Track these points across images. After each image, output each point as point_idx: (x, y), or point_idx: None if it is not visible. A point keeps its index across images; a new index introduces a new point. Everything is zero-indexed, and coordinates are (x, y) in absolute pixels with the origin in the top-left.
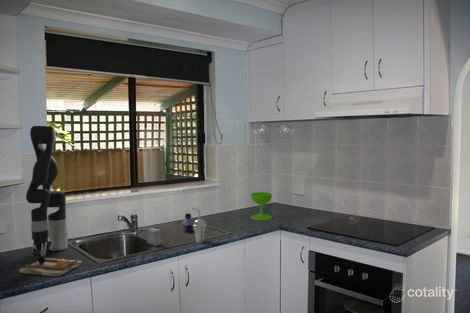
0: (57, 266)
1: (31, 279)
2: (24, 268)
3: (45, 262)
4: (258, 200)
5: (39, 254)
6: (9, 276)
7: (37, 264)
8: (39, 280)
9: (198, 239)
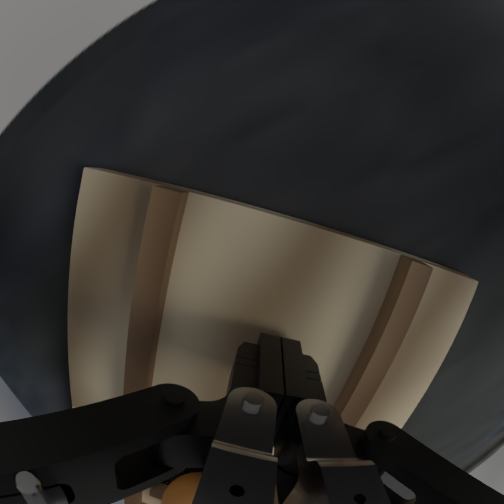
0: (165, 489)
1: (14, 347)
2: (114, 209)
3: (323, 367)
4: None
5: (157, 469)
6: (32, 135)
7: (258, 306)
8: (21, 394)
9: None
